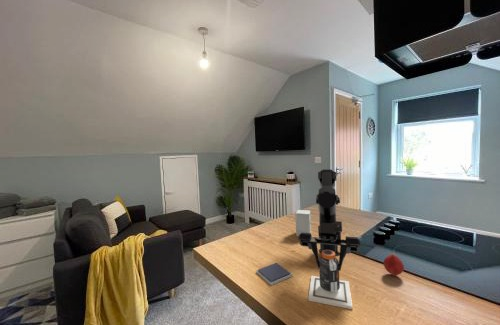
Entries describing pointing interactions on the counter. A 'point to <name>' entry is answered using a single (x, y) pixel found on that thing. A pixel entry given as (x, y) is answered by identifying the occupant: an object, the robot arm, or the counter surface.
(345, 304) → the board
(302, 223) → the supplement box
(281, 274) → the ink pad
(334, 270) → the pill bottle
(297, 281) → the counter surface
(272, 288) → the counter surface
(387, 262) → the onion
